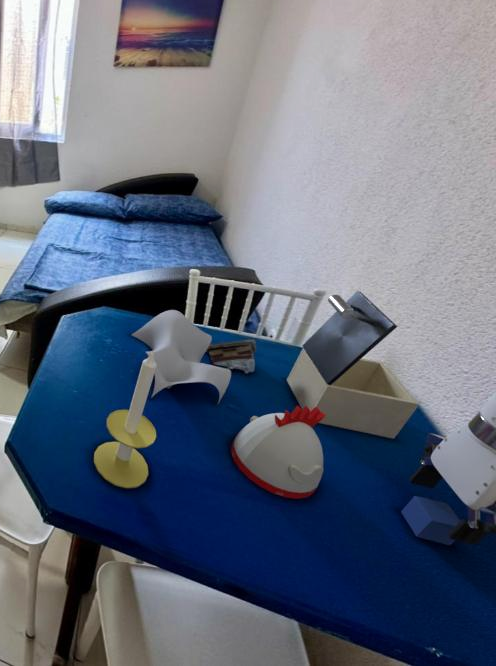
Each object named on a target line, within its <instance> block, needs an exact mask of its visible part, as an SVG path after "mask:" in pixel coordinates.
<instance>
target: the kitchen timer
mask: <svg viewBox="0 0 496 666" xmlns="http://www.w3.org/2000/svg"><path fill="white" fill-rule="evenodd" d="M325 416H326V415H325V414H324V413H323V412H320V410H319V409H318V408H317V407H315V408H314V409H313V410H312V411H311V412H310V409H309V408H308V407H307V406H305V407H304V408H303V410H302V408H301V406H300V405H296V407H295V408H294V409H293V410H292V412H291V413H290V412H289V411H288V410H287V409H285V411H284V413H283V412H275V413H268V414H265V415H261V416H257V415H253V416H252V417H250V419H249V423H248V424H246V425H245V426H244V427H242V429H241V430H240V431H239V432H238V433H237V435H236V437H235V438H234V440H233V442H232V444H231V450H230V451H231V456H232V458H233V461H234V463H235V464H236V466H237V467H238V469H239V470H240V471H241V472H242V473H243V474H244V475H245V476H246V477H247V478H248V479H250V481H252V482H253V483H255V485H257V486H258V487H260V488H261V489H264V490H266V491H268V492H270V493H271V494H275V495H278V496H281V497H283V498H288V499H294V500H295V499H296V500H298V499H299V500H300V499H305V498H308V497H309V496H311V495H312V494H314V493H315V491H316V489H317V488H318V486H319V484H320V482H321V479H322V477H323V473H324V453H323V448H322V447H323V446H322V443H321V441H320V438H319V436H318V435H317V433H316V432H315V430H314V426H316V425H317V424H319V423H318V422H319V421H321V420H322V419H323V418H324V417H325Z"/></svg>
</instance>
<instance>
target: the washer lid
mask: <svg viewBox="0 0 496 666" xmlns="http://www.w3.org/2000/svg"><path fill="white" fill-rule="evenodd" d="M327 302H328V303H329V304H330V306H331V307H333V309H334V311H335V312H334V313H333V314H332V315H331V316H330V317H329V318H328V319H327V321H325V322H324V323H323V324H322V325H321V326H320V327H319V328H318V329H317V330H316V331H315V332H314V333H313V334H312V335H311V336H310V337H309V338H308V339H307V340H306V341H305V342H304V343H303V344H302V345H301V347H302V349H303V348H304V349H305V351H306V352H307V354H308V356H309V357H310V359H311V360H312V362H313V363H314V365H315V366H316V368H317V369H318V371H319V372H320V374H321V376H322V377H323V379H324V380H325V382H326V383H327V384H328V385H332V384H333V383H334V382H335V381H336V380H337V379H339V378H340V377H341V376H342V375H343V374H344V373H345V372H347V371H348V370H349V369H350V368H351V367H352V366H353V365H354V364H356V363H357V362H358V361H359V360H360V359H361V358H362V359H363V357H365V356H366V355H368V353H370V351H372V350H373V349H374V348H375V347H376V346H378V344H379V343H381V342H382V341H383V340H384V339H386V338H387V337H388V336H389V335H390V334H391V333H392V332H393V331H394V330H396V329H397V328H398V325H397V324H396V323H395V322H394V321H392V319H390V318H389V317H388V316H387V315H386V314H385V313H384V312H383V311H382V310H381V309H379V307H378V306H376V305H375V304H374V303H373V302H372V301H371V300H370V299H369V298H368V297H367V296H366V295H365V294H364V293H362V292H361V291H359V290H357V291H355V292H354V293H353V294H352V295H351V296H350V297H349V298H348V299H347V300H346V301H345V299H343V298H342V296H341V295H339V294H332V295H330V296H329V297H327Z"/></svg>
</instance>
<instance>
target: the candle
mask: <svg viewBox="0 0 496 666" xmlns="http://www.w3.org/2000/svg"><path fill="white" fill-rule="evenodd" d="M152 351H153V350H152ZM153 352H154V351H153ZM156 366H157V365H156V363H155V361H154V354H153V353H151V355H150V356H147V358H145V359H143V360H142V364H141V367H140V370H139V374H138V376H137V381H136V384H135V388H134V392H133V394H132V395H133V396H132V399H131V402H130V406H129V409H117V410H114V411H113V412H110V413H109V415H108V417H107V418H106V428H107V431H108V432H109V435H111V436H112V437H113V439H115V441H107V442H104V443H102V444H100V445H99V446H98V447H97V448H96V450H95V451H94V453H93V463H94V465H95V468H96V471H97V472H98V473H99V474H100V475H101V477H103V478H104V480H106V481H107V482H109V483H110V484H112V485H114V486H116V487H120V488H123V489H135V488H139V487H140V486H142V485H143V484H145V483H146V481H147V478H148V476H149V467H148V464H147V462H146V460H145V458H144V456H143V455H142V454H141V453H140V452H139V451H138V450H137V449H144V448H145V449H146V448H148V447H150V446H152V445H153V444H154V443H155V441H156V439H157V431H156V428H155V426H154V425H153V423H152V422H151V420H149V419H148V418H147V417H146V416H145V415H143V412H144V409H145V405H146V402H147V399H148V396H149V394H150V393H149V392H150V389H151V386H152V383H153V379H154V377H155V370H156Z"/></svg>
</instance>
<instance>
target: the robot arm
mask: <svg viewBox="0 0 496 666" xmlns="http://www.w3.org/2000/svg"><path fill="white" fill-rule="evenodd" d="M419 460H420V465H419V467H418V468H417V469H416V470H415V472H414V473H413V474H412V475H411V477H410V478H409V479H408V480H409V482H410V483H411V484H413V485H415V486H420V487H424V488H427V489H434V488H436V486H437V485H438V484H439V483H440V481H441V480H442V479H444V481H445V482H446V483H447V484H448V486H449V487H450V489H452V490H453V492H454V493H455V494H456V496H458V498H459V500H461V502H463V504H464V505H466V507H467V519H460V522H459V523H458V524H457V525H456V526H455V527H454V528H453V529H452V530H451V531H450V532H449V533H448V536H449V537H450V539H452V540H455V541H457V542H461V543H465V544H468V545H472V546H476V545H477V544H479V542H481V541H482V540H483V539H484V538H485V537H486V536H487V535H489V534H493V535H496V391H495V392H494V393H493V395H492V396H491V397H490V398H489V399H488V401H486V403H485V404H484V405H483V406H482V407H481V408H480V409H479V410H478V411H477V413H475V415H474V416H473V417H472V419H469V420H467V421H465V422H463V423H462V424H461V425H459V426H458V427H456V428H455V429H454V430H453V431H451V432H450V433H449V434H447V436H446V437H444V436H442V435H440V434H435V433H428V435H427V438H426V443H425V445H424V446H423V457H421V458H420V459H419ZM481 512H482V513H485V514H486V520H485V521H486V522H485V521H481Z"/></svg>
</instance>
